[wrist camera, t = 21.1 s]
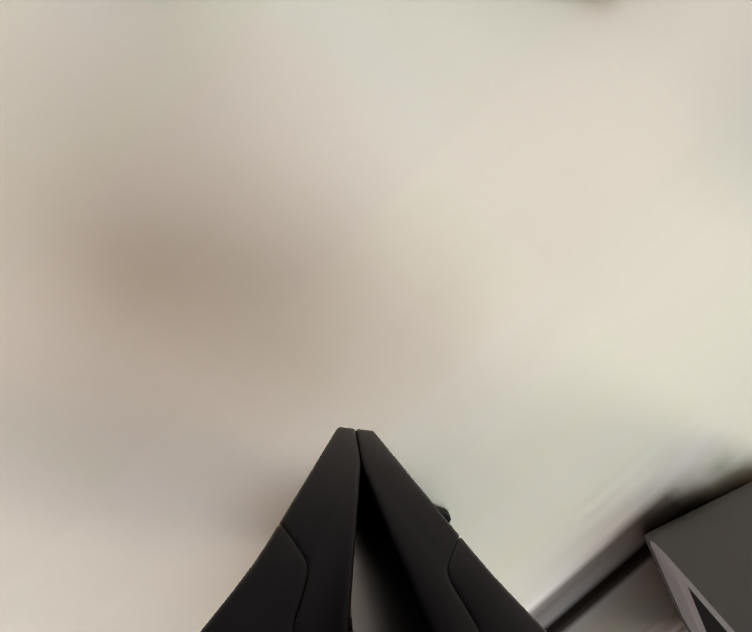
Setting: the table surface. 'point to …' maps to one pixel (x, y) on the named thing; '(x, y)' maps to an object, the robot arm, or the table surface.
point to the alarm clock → (709, 563)
